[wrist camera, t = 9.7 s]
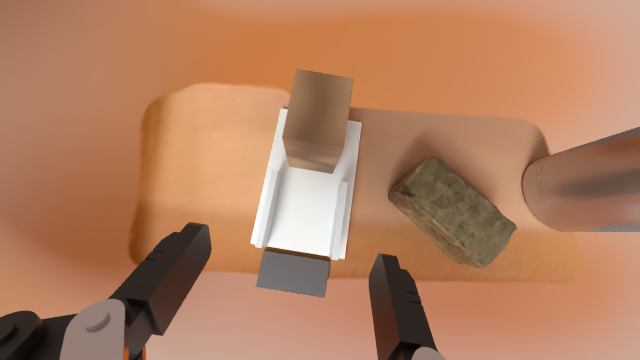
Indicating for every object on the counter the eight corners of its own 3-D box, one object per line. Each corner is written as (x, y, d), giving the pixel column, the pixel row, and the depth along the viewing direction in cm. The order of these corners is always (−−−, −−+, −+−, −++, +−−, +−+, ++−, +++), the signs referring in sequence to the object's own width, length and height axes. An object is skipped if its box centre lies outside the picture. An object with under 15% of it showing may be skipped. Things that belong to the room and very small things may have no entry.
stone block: (411, 163, 27) (434, 149, 23) (487, 230, 26) (528, 229, 21) (381, 197, 26) (398, 189, 21) (459, 268, 25) (496, 277, 20)
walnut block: (340, 122, 27) (353, 78, 20) (332, 174, 26) (343, 148, 18) (299, 115, 27) (296, 68, 19) (289, 166, 26) (281, 137, 18)
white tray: (360, 124, 28) (368, 109, 25) (338, 298, 23) (344, 310, 20) (281, 110, 28) (277, 93, 24) (242, 283, 23) (231, 292, 20)
